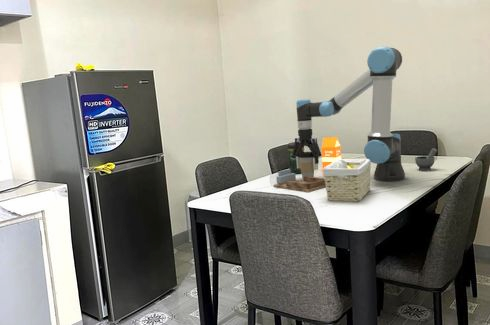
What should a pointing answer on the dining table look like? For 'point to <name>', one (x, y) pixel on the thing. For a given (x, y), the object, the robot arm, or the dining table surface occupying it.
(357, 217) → the dining table surface
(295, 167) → the coffee jar
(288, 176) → the block
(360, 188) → the storage basket
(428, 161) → the mortar and pestle
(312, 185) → the housing base
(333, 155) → the orange juice
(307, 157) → the coffee cup
